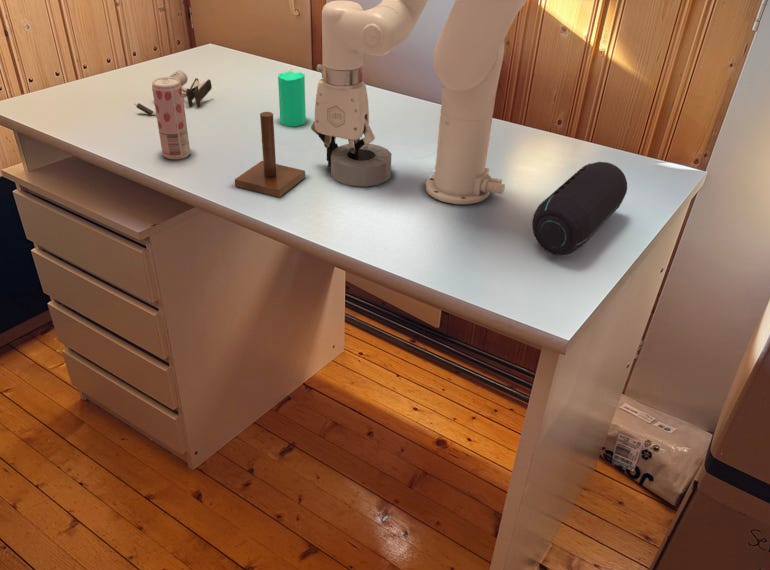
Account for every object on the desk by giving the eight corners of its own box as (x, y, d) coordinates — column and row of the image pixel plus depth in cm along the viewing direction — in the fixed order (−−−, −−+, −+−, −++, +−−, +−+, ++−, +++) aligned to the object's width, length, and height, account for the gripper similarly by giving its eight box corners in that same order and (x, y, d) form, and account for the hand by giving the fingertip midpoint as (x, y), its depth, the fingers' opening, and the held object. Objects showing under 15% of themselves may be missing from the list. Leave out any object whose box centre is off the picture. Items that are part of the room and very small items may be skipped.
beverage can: (180, 146, 152) (169, 74, 142) (196, 154, 149) (186, 81, 139) (157, 154, 149) (145, 80, 139) (173, 162, 146) (161, 88, 136)
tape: (399, 168, 146) (400, 149, 144) (375, 191, 138) (376, 171, 135) (347, 157, 150) (347, 138, 148) (321, 178, 142) (320, 159, 139)
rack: (305, 177, 142) (303, 110, 133) (279, 197, 135) (276, 127, 126) (262, 167, 145) (257, 101, 137) (235, 186, 138) (228, 117, 129)
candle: (311, 121, 165) (310, 68, 158) (292, 128, 162) (290, 74, 154) (293, 114, 168) (292, 62, 161) (274, 121, 165) (271, 67, 157)
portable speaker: (574, 199, 138) (586, 149, 132) (624, 213, 134) (639, 163, 127) (518, 251, 122) (528, 197, 115) (573, 270, 118) (587, 215, 111)
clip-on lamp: (170, 133, 165) (216, 94, 175) (163, 108, 160) (212, 70, 169) (131, 118, 169) (178, 81, 178) (123, 93, 163) (173, 57, 173)
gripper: (294, 73, 133) (297, 165, 145) (374, 87, 128) (371, 182, 140) (313, 62, 139) (315, 152, 150) (391, 76, 134) (386, 168, 145)
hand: (342, 166), depth 145 cm, fingers closed on tape, 3 cm apart
